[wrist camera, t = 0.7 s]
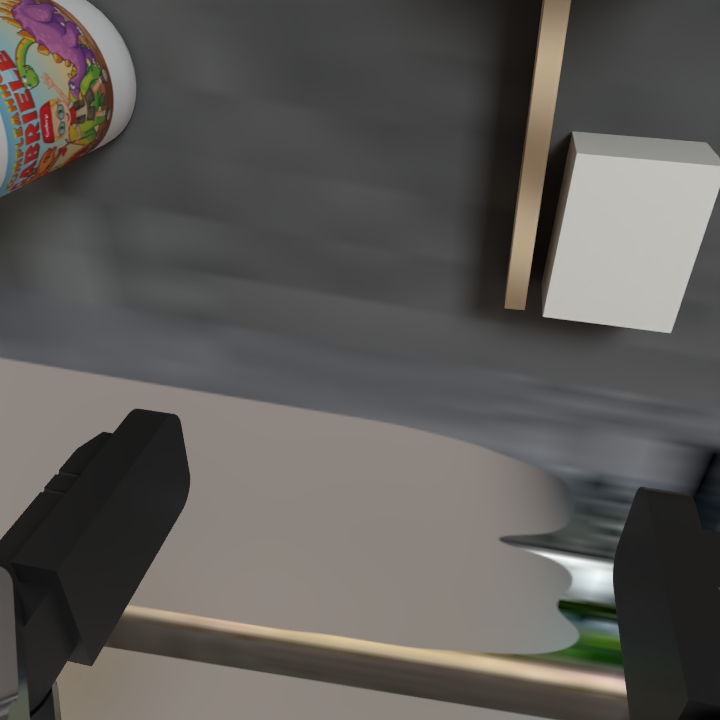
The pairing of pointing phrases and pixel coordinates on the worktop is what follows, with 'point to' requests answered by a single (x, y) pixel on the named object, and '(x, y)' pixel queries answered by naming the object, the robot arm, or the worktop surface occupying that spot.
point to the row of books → (536, 147)
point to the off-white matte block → (628, 229)
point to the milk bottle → (58, 86)
